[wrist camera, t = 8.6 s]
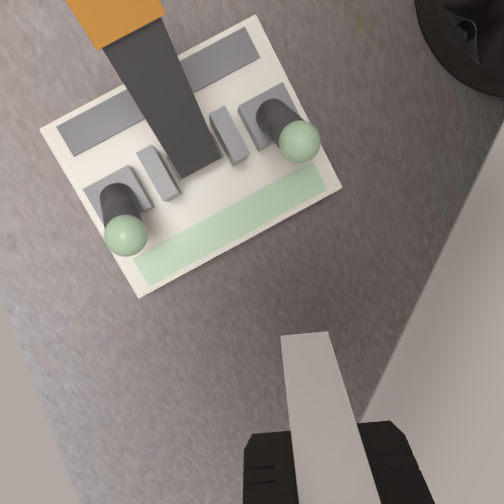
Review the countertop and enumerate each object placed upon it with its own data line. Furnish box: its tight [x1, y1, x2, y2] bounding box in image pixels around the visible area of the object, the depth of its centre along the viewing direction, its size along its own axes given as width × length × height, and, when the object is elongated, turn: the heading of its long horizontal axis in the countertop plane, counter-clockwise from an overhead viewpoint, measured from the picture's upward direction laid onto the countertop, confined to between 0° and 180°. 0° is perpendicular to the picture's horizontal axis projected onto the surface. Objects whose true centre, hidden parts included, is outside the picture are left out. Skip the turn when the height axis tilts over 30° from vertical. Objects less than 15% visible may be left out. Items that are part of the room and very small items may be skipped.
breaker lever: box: [66, 0, 224, 181], centre depth 22 cm, size 3×2×13 cm
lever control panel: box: [39, 14, 343, 299], centre depth 27 cm, size 15×12×9 cm
